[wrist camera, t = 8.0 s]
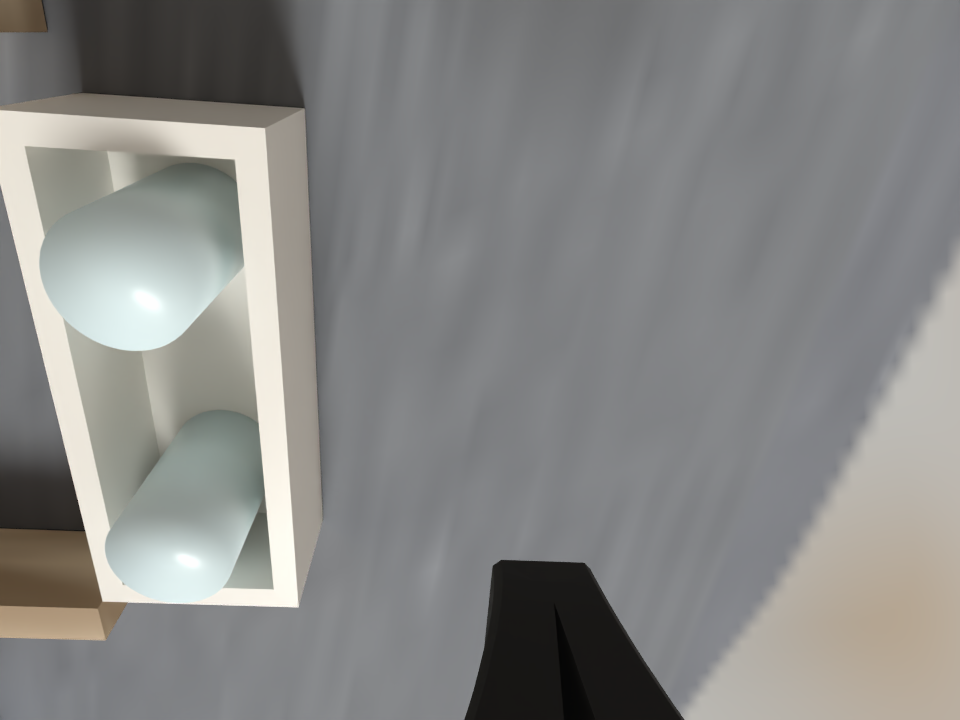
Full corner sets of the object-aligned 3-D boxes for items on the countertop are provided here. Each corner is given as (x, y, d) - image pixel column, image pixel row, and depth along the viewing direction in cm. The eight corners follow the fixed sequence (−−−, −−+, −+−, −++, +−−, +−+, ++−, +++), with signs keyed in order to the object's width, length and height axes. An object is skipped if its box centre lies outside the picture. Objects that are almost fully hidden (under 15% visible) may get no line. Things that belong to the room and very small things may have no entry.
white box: (323, 519, 21) (287, 644, 16) (157, 513, 20) (78, 639, 16) (304, 108, 15) (246, 137, 11) (81, 92, 15) (-66, 116, 11)
